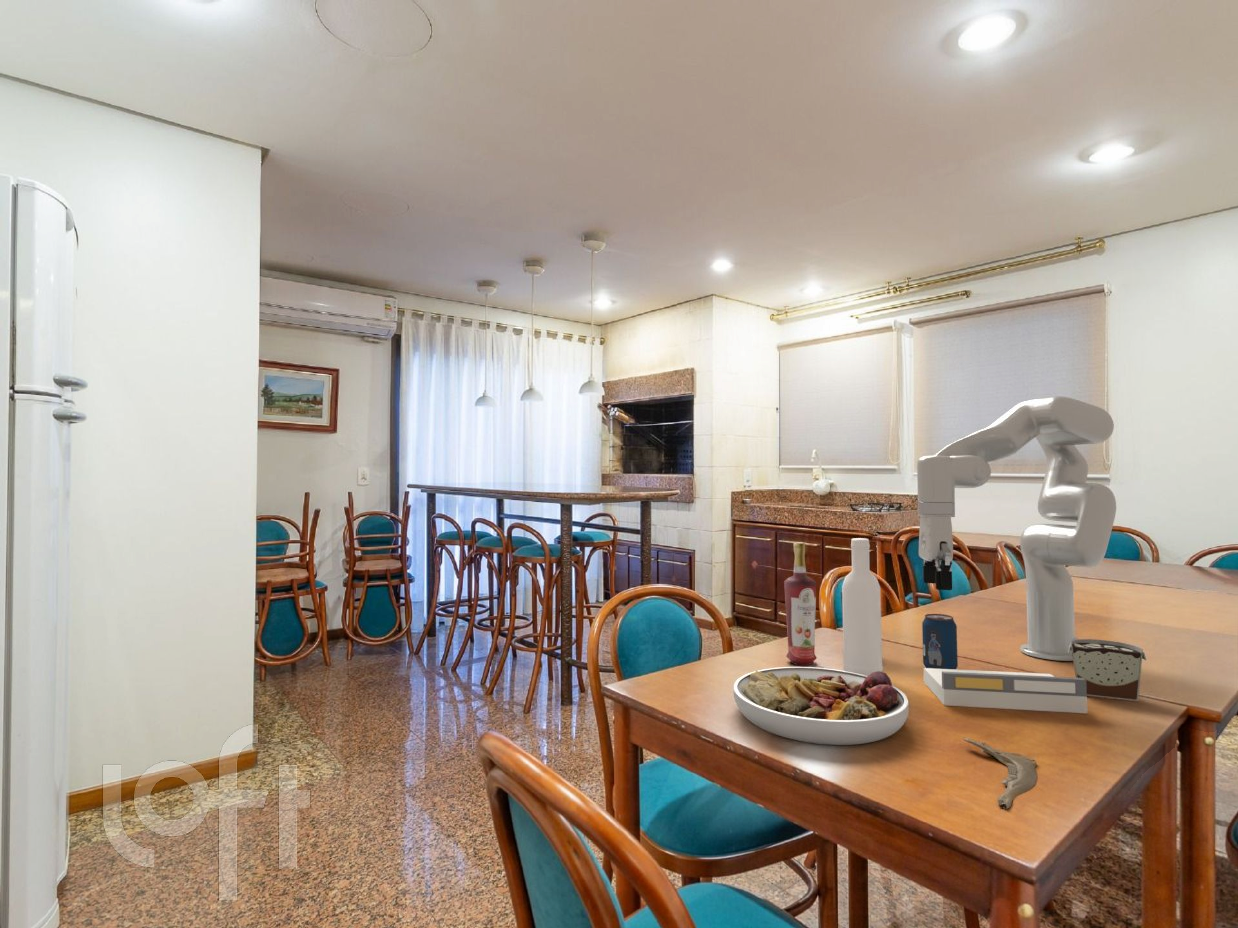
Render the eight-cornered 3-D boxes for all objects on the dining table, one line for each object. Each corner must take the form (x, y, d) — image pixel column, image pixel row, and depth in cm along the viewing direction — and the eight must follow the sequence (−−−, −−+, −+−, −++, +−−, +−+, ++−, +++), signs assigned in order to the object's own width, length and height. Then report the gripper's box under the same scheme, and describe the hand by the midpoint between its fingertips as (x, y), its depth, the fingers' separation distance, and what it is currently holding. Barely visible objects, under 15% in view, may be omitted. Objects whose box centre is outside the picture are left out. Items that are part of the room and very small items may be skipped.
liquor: (795, 667, 144) (793, 545, 145) (779, 659, 151) (777, 542, 152) (823, 665, 146) (821, 544, 147) (807, 657, 153) (805, 541, 154)
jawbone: (1025, 758, 98) (1026, 745, 98) (1081, 829, 79) (1082, 813, 79) (961, 747, 101) (962, 734, 101) (999, 813, 81) (1000, 797, 81)
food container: (1137, 692, 126) (1135, 641, 126) (1147, 702, 120) (1146, 649, 120) (1062, 684, 131) (1061, 636, 131) (1069, 693, 125) (1068, 642, 126)
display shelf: (1050, 688, 128) (1049, 658, 128) (1088, 714, 114) (1087, 680, 114) (923, 682, 133) (923, 653, 133) (945, 706, 119) (944, 673, 119)
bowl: (772, 760, 97) (771, 708, 97) (713, 695, 127) (712, 656, 127) (948, 745, 102) (947, 696, 102) (851, 687, 131) (851, 649, 132)
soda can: (952, 666, 144) (951, 613, 145) (961, 675, 137) (960, 620, 138) (919, 664, 146) (918, 612, 146) (927, 673, 139) (926, 618, 139)
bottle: (853, 670, 142) (851, 536, 143) (888, 677, 136) (885, 538, 137) (836, 678, 136) (834, 539, 137) (872, 686, 131) (869, 541, 132)
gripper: (908, 508, 152) (909, 580, 151) (929, 511, 135) (930, 592, 134) (942, 509, 150) (943, 581, 150) (967, 511, 133) (968, 593, 133)
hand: (937, 586), depth 142 cm, fingers open, 9 cm apart
